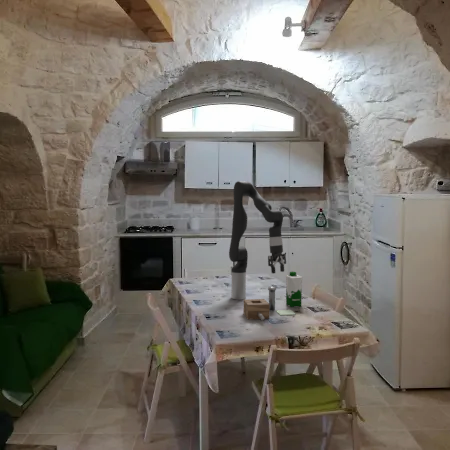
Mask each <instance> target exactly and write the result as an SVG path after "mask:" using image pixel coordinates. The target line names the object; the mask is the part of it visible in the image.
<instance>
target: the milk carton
mask: <svg viewBox="0 0 450 450" xmlns="http://www.w3.org/2000/svg"><path fill="white" fill-rule="evenodd" d="M285 277H286V287H285V288H286V290H285V291H286V293H285V295H286V296H285V301H286V302H285V305H287V306H288V305H289V307H290V308H295V307H294V306H299V307H302V298H303V297H302V293H303V292H302V291H303V290H302V288H303V285H302V283H303V278H304V277H303V276H301V275H299V274H297V272H296V271H290V272H289V274H287V275H286V276H285Z"/></svg>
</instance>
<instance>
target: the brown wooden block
mask: <svg viewBox="0 0 450 450" xmlns="http://www.w3.org/2000/svg"><path fill="white" fill-rule="evenodd" d="M269 308H270V304H269V301H267V300H266V299H265V298H253V299H250V298H249V299H243V312H242V313H243V315H244V316H245V318H246V319H247V320H261V321H264V320H265V319H266V320H269V319H270V310H269Z"/></svg>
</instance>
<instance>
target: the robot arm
mask: <svg viewBox="0 0 450 450" xmlns="http://www.w3.org/2000/svg"><path fill="white" fill-rule="evenodd" d="M243 197H249V198H250V199H252V201H253V205H254V207H255V208H256V209H257V210H258V211H259V212H260V213H261V214H262V216H263V218H264V219H265V221H266V222H268V223H270V224H271V223H273V225H272V226H271V227H269V229H268V234H269V236H268V237H269V239H268V240H269V242H268V243H269V252H270V254H271V255H268V256H267V264H268V267H270V272H271V274H276V265H277V263H278V264H279V265H280V266H279V267H280V272H282V273H284V272H285V265H286V264H287V257H286V253H283V252H284V248H283V247H284V246H283V238H282V227H283V221H284V215H283V213H282V211H281V210H279V209H277V210H273V209H272V205H271V204H270V203H269V202H268V201H267V200H265V198H264V197H263V196H261V194H260V193H259V192H258V190H257V189H256V188H255V186H254V185H253V183H251V182H250V181H248V180H247V181H246V180H245V181H244V180H242V181H240V180H237V181H236V182H235V183H234V186H233V213H232V214H233V215H232V224H231V225H232V229H231V238H230V244H229V250H228V257H229V260H230V261H231V262H233V263H236V264H235V265H233V266H232V267H231V292H230V293H231V297H230V298H231V299H232V300H246V299H247V298H246V297H247V296H246V293H247V292H246V291H247V288H246V286H247V285H246V284H247V267H248V258H249V257H248V254H249V253H248V251H247V248H246V247H244V246H240V242H241V239H242V237H243V235H244V234H245V232H246V230H247V228H248V214H247V212H246V209H245V208H244V206H243V205H244V204H243Z"/></svg>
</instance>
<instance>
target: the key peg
mask: <svg viewBox="0 0 450 450" xmlns="http://www.w3.org/2000/svg"><path fill="white" fill-rule="evenodd" d="M267 290H268V303H269V304H270V308H269V312H270V311H273V312H274V311H276V291H277V287H275V286H268V288H267Z"/></svg>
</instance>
